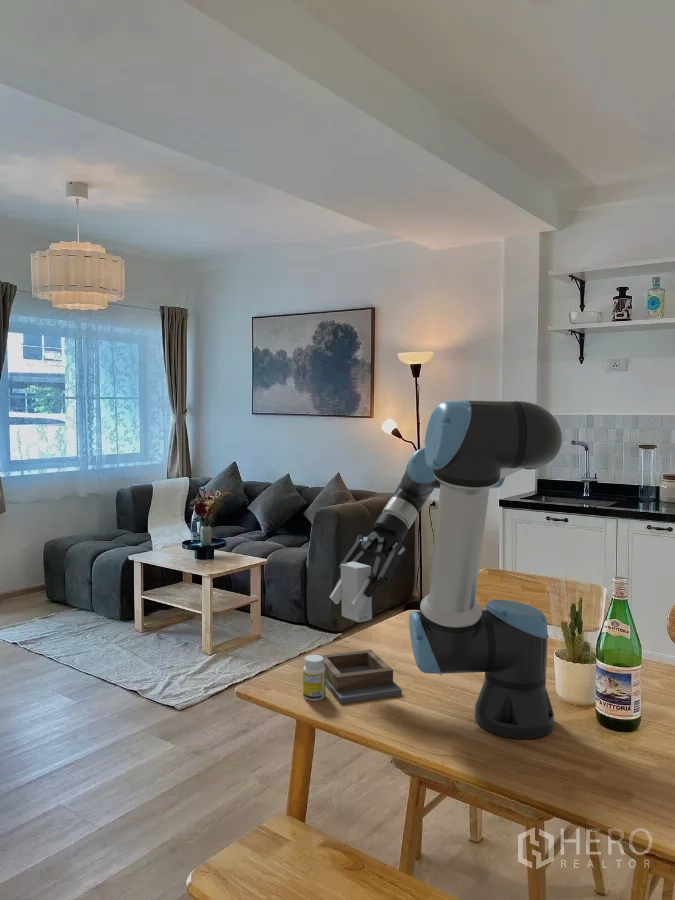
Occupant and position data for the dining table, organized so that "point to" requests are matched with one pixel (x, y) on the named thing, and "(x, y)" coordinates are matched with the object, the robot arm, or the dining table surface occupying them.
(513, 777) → the dining table surface
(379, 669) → the collar stand
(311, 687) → the supplement bottle
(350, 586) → the skincare box
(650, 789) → the dining table surface
